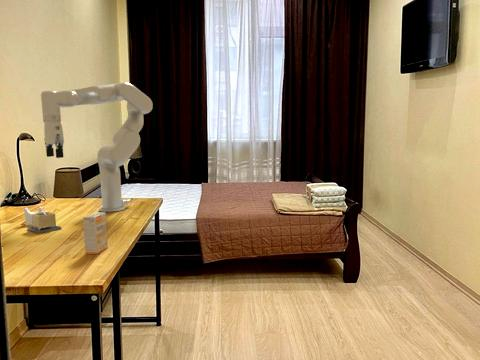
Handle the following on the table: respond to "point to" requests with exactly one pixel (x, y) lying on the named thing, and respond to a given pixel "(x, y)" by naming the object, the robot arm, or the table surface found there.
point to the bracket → (29, 217)
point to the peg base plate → (42, 230)
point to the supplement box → (95, 232)
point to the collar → (43, 220)
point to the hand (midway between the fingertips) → (55, 157)
